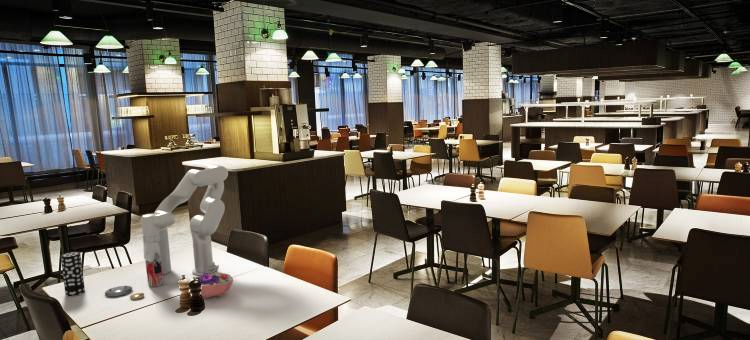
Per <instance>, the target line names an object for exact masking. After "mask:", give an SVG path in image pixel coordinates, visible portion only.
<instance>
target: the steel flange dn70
mask: <svg viewBox="0 0 750 340" xmlns="http://www.w3.org/2000/svg"><path fill="white" fill-rule="evenodd" d="M132 292H133V286H130V285H120V286H119V285H118V286H115V287H111V288H109V289H107V290H105V292H104V296H105V297H106V298H119V297H123V296H126V295H129V294H130V293H132Z"/></svg>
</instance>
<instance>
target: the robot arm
mask: <svg viewBox="0 0 750 340" xmlns="http://www.w3.org/2000/svg"><path fill="white" fill-rule="evenodd" d="M228 175H229V170H228V169H227V167H225V166H223V165H219V164H213V163H211V164H208V165H207V166H206V167H205V168H204V169H195V168H192V169H189V170H188V171H187V172H186V173H185V175H184V176H183V177H182V179H181V181H179V183H178V185H177V186H176V187H175V189H174V190H173V191H172V192H171V193H170V194H169V195H168V196H167V197H165V198H164V199H163V200H162V201H161V202H160V204H159V205H158V207H157V208H156V209H155V211H154V213H147V214H143V215H142V216H141V218H140V220H141V222H140V223H141V231H142V242H143V259H144V260H146V263H145V265H146V264H147V261H149V262H154V265H155V266H154V272H155V274H157V273H161V256H160V248H159V242H158V241H159V229H158V228H159V227H167V228H169V227H172V226H173V225H174V224H175V222H176V217H175V215H174V214H173V213H172V212H173V210H174V209H175V208H176V207H177V206H179V205H181V204H183V203H184V204H185V202H187V201H189V200H190V198H191V197H192V195H193V194H194V192H195V191H196V190H197V188H198V187H206V186H207V188H206V190H205V192H204V195H203V198H202V200H201V202H200V205H199V210H200V211H201V212H202V213H203V214H204V215H203V214H196V215H194V216H193V217H192V218H191V219H190V221H189V229H190V233H191V234H190V235H191V238H192V248H193V261H194V268H193V269H192V270H191V271H192V273H191V274H193V275H195V276H201V275H202V274H203V273H208V274H214V273H215V272H216V271H218V270H219V268H220V265H219V264H216V262H215V261H214V260H213V247H212V246H213V245H212V237H211V235H213V234H214V233H215V232H216V230H217V229H218V227H219V225H220V222H221V220H222V217H223V216H224V213H225V208H226V207H225V203H224V201H222V200H221V198H222V196H223V193H224V190H225V183H224V181H225V180H226V179H227V178H228V177H229V176H228ZM156 259H157V260H156ZM157 261H158V262H157ZM156 262H157V263H156Z"/></svg>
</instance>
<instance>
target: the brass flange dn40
mask: <svg viewBox="0 0 750 340" xmlns="http://www.w3.org/2000/svg"><path fill="white" fill-rule="evenodd" d="M129 298H130V300H131V301H138V300H141V299H143V298H145V293H143V292H137V293H133V294H131V295H130V296H129Z"/></svg>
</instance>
